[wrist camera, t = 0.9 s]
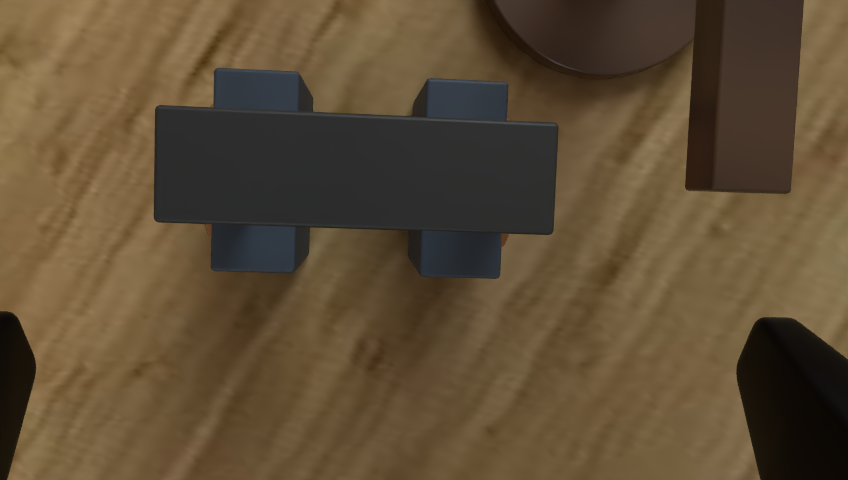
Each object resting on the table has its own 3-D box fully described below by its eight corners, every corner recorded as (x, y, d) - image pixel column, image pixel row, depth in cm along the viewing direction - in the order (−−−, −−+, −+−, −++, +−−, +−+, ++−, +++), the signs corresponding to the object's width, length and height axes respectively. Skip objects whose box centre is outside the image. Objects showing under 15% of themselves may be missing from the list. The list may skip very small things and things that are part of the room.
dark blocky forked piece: (485, 260, 23) (572, 313, 14) (228, 253, 23) (127, 302, 13) (491, 104, 23) (585, 43, 13) (231, 92, 22) (130, 19, 13)
